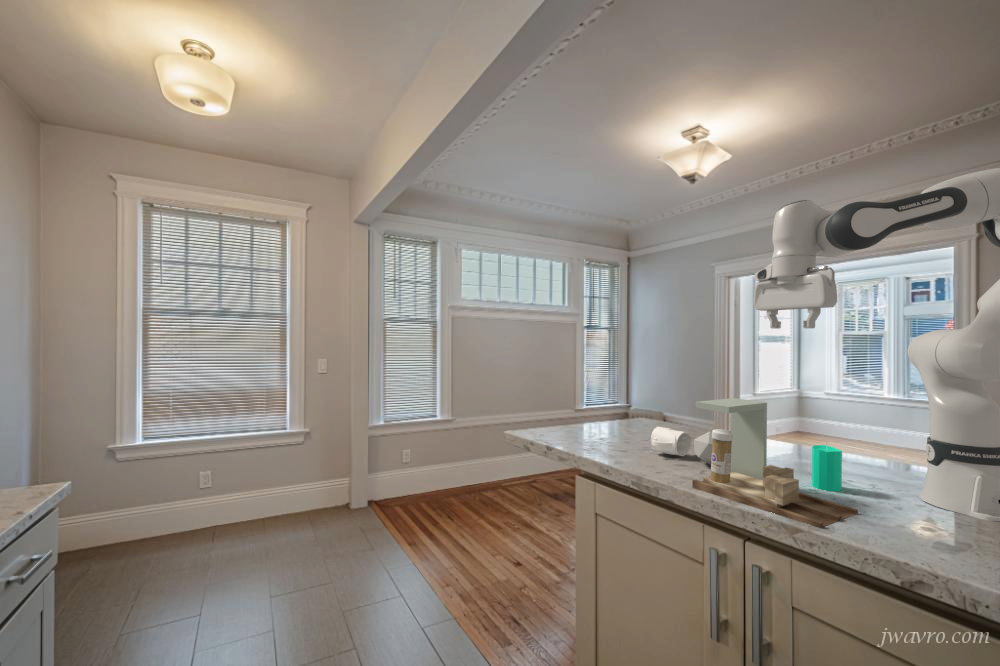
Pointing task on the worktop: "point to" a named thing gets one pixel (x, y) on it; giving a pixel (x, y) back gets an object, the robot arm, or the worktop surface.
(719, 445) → the sprinkles bottle
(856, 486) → the worktop surface
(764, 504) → the lane board
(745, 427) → the shelf
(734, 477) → the wooden slider block
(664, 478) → the worktop surface
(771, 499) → the bottle strip
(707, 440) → the die
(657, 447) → the mug
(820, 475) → the candle
